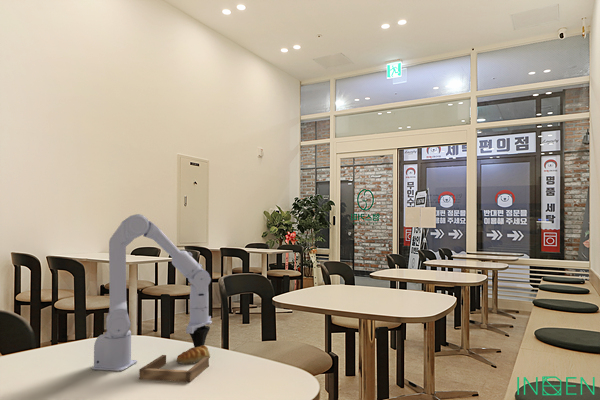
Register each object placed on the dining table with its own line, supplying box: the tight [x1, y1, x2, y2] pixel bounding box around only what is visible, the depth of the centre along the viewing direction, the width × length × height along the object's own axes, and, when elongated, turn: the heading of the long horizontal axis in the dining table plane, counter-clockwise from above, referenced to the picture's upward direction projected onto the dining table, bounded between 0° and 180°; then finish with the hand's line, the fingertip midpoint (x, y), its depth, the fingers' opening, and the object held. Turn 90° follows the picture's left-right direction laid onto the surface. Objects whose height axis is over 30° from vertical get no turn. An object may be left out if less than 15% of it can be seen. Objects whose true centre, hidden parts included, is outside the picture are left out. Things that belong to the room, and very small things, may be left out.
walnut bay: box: [138, 354, 210, 383], centre depth 115 cm, size 14×12×2 cm
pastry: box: [176, 344, 211, 365], centre depth 125 cm, size 9×7×4 cm
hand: (199, 351), depth 131 cm, fingers closed
